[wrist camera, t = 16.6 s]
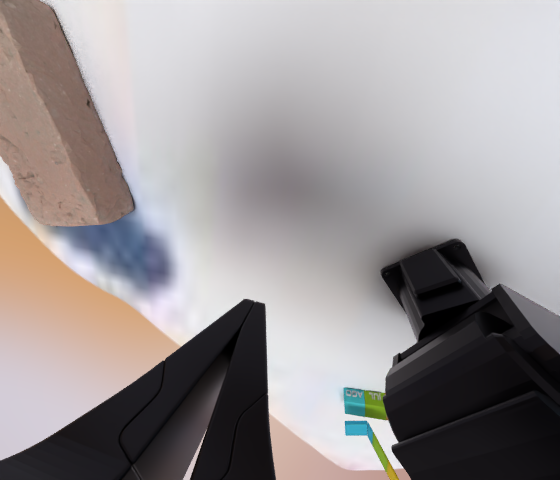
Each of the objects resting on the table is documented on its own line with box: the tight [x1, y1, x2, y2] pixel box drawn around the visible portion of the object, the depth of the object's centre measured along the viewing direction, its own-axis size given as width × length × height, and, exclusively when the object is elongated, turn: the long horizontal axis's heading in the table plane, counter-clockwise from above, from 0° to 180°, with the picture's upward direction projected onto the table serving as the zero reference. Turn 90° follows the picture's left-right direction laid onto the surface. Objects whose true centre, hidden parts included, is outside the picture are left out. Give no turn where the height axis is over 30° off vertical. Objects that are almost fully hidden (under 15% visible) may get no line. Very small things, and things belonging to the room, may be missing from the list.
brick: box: [0, 0, 134, 226], centre depth 19 cm, size 17×8×5 cm, turn 6°
